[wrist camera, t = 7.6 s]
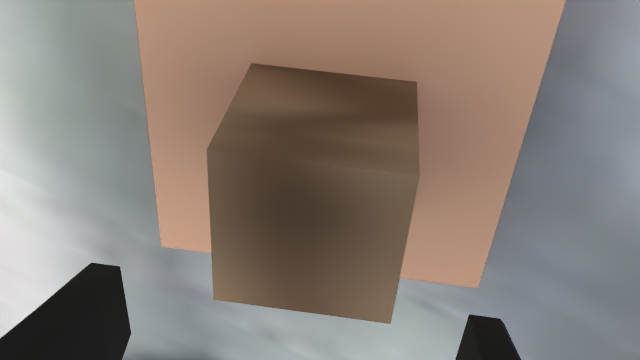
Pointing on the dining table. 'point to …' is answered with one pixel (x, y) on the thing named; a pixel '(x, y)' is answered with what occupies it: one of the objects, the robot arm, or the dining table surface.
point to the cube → (313, 191)
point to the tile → (365, 60)
